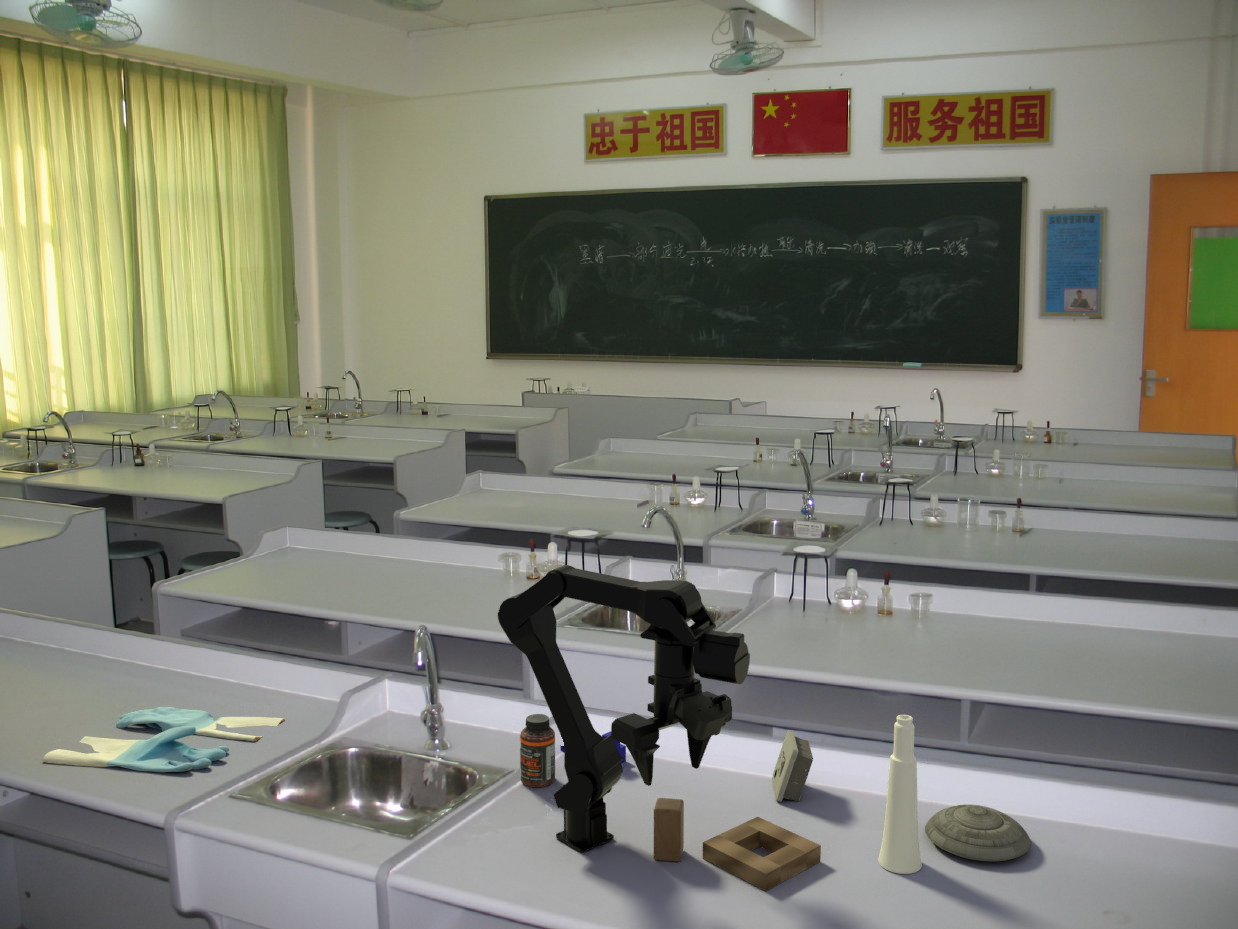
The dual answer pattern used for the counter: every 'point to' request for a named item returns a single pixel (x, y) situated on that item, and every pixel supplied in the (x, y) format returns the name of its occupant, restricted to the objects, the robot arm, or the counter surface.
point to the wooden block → (668, 829)
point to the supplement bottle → (537, 752)
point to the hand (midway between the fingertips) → (671, 776)
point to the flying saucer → (978, 833)
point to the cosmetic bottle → (901, 804)
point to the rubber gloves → (161, 742)
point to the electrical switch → (792, 768)
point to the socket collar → (760, 871)
